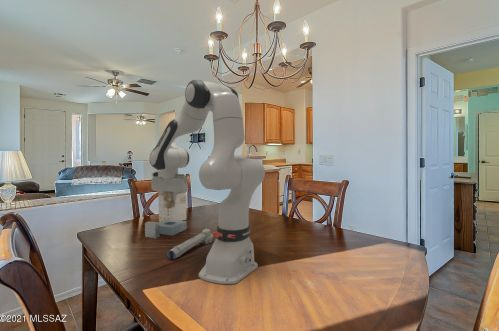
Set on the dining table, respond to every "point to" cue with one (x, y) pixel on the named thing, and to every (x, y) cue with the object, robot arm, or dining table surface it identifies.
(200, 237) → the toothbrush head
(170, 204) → the block
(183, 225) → the bore block
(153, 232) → the pale grey block
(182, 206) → the coffeecake box
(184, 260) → the dining table surface
